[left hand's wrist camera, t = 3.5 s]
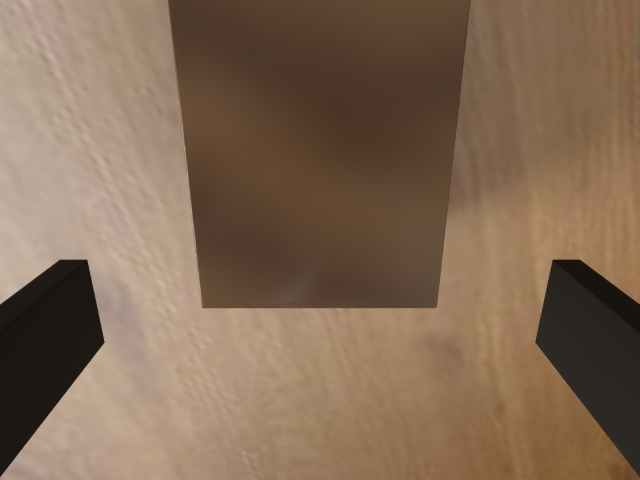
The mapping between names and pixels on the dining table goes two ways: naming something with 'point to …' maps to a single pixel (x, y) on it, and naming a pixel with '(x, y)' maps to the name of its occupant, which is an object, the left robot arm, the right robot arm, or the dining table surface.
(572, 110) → the dining table surface
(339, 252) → the cabinet
